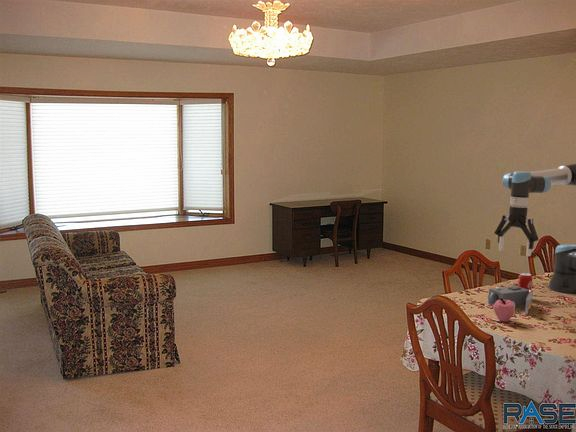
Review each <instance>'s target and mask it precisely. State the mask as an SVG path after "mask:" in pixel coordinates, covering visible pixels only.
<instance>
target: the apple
mask: <svg viewBox="0 0 576 432" xmlns="http://www.w3.org/2000/svg"><path fill="white" fill-rule="evenodd" d="M515 310H516V307H515V303H514V302H513V301H511V300H505V299H502V298H501V299H500V300H497V301H496V302H495V304H494V305H493V312H494V313H495V315H496V318H497V319H498V320H499V321H500V322H504V323H507V322H510V320H511V318H512V317H513V316H514V315H515Z"/></svg>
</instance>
